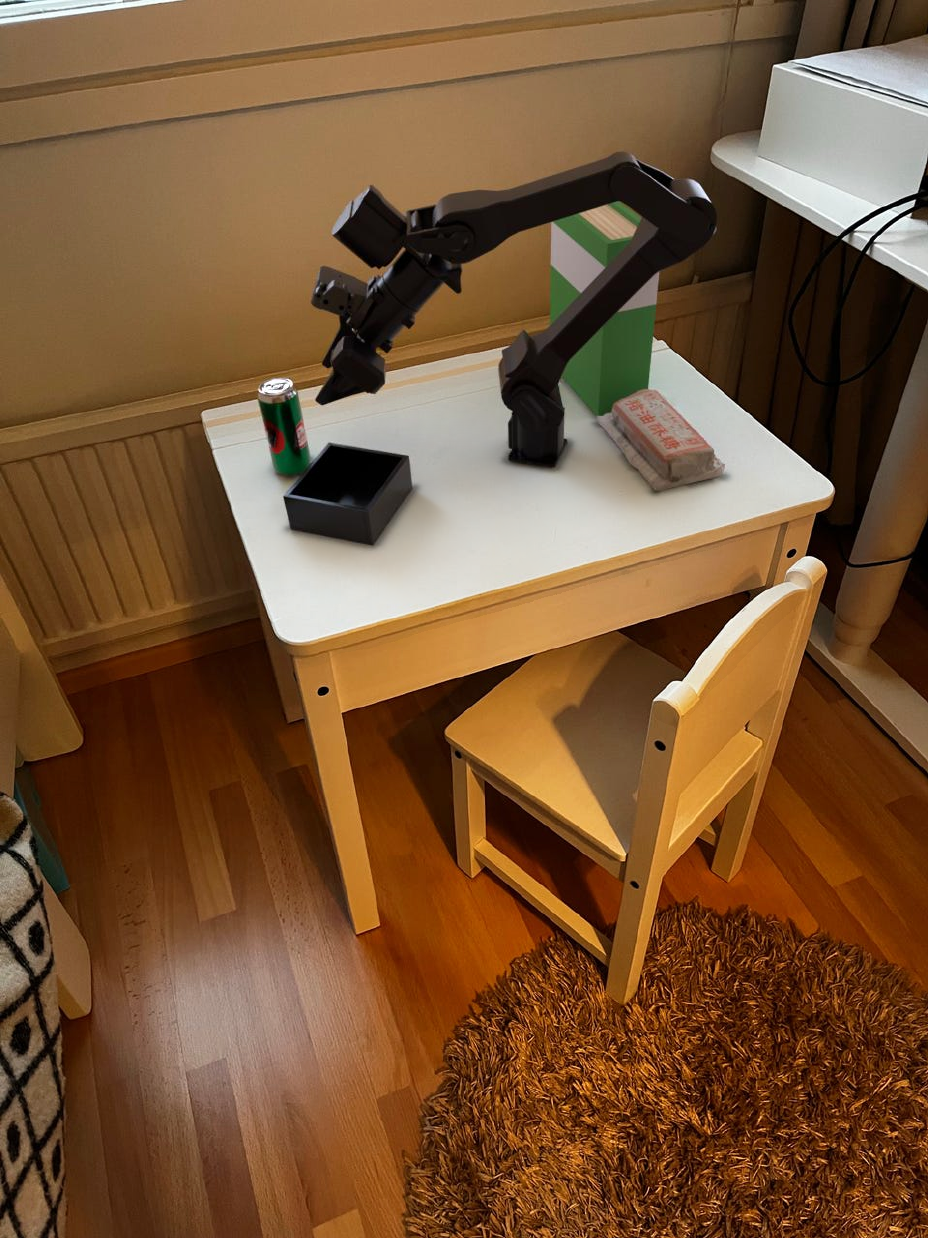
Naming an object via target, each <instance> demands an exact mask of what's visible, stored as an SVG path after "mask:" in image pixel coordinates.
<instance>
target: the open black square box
mask: <svg viewBox="0 0 928 1238" xmlns="http://www.w3.org/2000/svg"><path fill="white" fill-rule="evenodd" d="M412 490H413V480H412V471H411V461H410V455H407V454H401V453H396V452H395V453H394V452H390V451H383V450H378V449H377V450H376V449H370V448H364V447H360V446H353V445H348V444H347V445H346V444H341V443H334V442H327V444H326V445H325V446H324V447H323V448H322V450H321V451H320V452H319V453H318V454H317V456H316V457H315V458H314V459H313V460H312V461H311V464H310V465H309V466H308V467H307V469H306V470H305V471H304V472H303V473H301V474H300V476H299V477H298V478H297V479H296V480H295V481H294V482H293V484H292V485H291V486H290V487H289V488H288V490H287V491H286V492H285V493H284V494H283V496H282V498H283V502H284V506H285V511H286V516H287V519H288V524H289V528H290V530H291V531H297V532H302V533H306V534H312V535H317V536H322V537H327V538H331V539H337V540H341V541H346V542H347V541H348V542H352V543H356V544H362V545H368V546H372V547H374V546H375V544H376V543H377V542H378V540H379V538H381V535H382V534H383V532H384V531H385V529H386V528H387V527H388V526H389V524H390V522H391V521H392V520H393V518H394V517H395V515H396V514H397V512H398V511H399V509H400V508H401V507H402V505H403V503H404V502H405V501H406V499H407V498H408V496H409V494H410V493H411V492H412Z"/></svg>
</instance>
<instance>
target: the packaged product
mask: <svg viewBox="0 0 928 1238" xmlns="http://www.w3.org/2000/svg"><path fill="white" fill-rule="evenodd" d="M596 418H597V423H598V424H599V425H600V427H601V428H602V429H604V431H605V432H606V433H608V435H609V436H610V438H611V439H612V440H613V442H615V444H616V445H617V447H618V448H619V449H620V450H621V452H622V454H624V456H625V458H626V459H627V461H628V463H629V465H631V466H632V467H634V468H635V469H636V470H638V472H639V473H640V474H642V476H643V478H645V480H646V481H647V482H648V484H649V485H650V486H651V487H652V488H653V490H654V491H656V492H657V491H661V490H665V489H669V488H674V487H679V486H683V485H688V484H693V483H697V482H701V481H705V480H709V479H714V478H718V477H722V476H724V474H725V470H726V469H725V468H726V463H724V462H722V460H721V459H720V458H719V457H718V456H717V455H716V453H715V450H714V447H712V446H711V445H710V444H709V443H708V441H707V440H706V439H705V438H704V437H703V436H702V435H700V433H699V432H698V431H697V430H696V429H695V428H694V427H693V426H692V425H691V424H690V423H689V422H688V421H687V420H686V419H685V418H684V417H683V416H682V414H681V413H679V412H678V410H676V408H674V407H673V406H672V404H671V403H670V402H668V400H667V399H665V397H663V395H662V394H661V392H660V391H658V390H657V389H649V388H648V389H643V390H639V391H637V392H636V393H634V394H632V395H630V396H628V397H625V398H622V399H621V400H619V401H617V402H616V403H614V405H613V406H612V412H611V413H606V414H605V415H604V416H596Z"/></svg>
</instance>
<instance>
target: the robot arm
mask: <svg viewBox="0 0 928 1238" xmlns="http://www.w3.org/2000/svg"><path fill="white" fill-rule="evenodd" d="M617 201H619V202H621V203H622V204H623V205H625V206H626V207H628V208H629V209H631V210H632V211H633V212H635V213H636V214H637V215H639V216H640V217H641V220H640V222H639V224H638V227H637V229H636V231H635V233H634V235H633V237H632V239H631V241H630V242H629V243H628V244H627V246H626V247H625V248H624V249H623V250H622V251H621V252H620V253H619V254H618V255H617V256H616V257H615V258H614V259H613V260H612V261H611V262H610V263H609V264H608V265H607V266H606V268H605V269H604V270H603V271H602V272H601V273H600V274H599V275H598V276H597V277H596V278H595V279H594V280H593V281H592V282H591V283H590V284H589V285H588V286H587V287H586V288H585V290H584V291H583V292H582V293H581V294H580V295H579V296H578V297H577V298H576V299H575V300H574V301H573V302H572V303H571V304H570V305H569V306H568V307H567V308H566V309H565V310H564V312H563V313H562V314H561V315H560V316H559V317H558V318H557V319H556V320H555V321H554V322H553V323H552V324H551V325H550V324H549V326H548V327H547V328H546V329H545V330H544V331H541V332H540V333H536V334H535V335H532V336H530V335H529V334H528V332H527V331H526V330H525V329H522V330H521V331H520V332H519V333H518V335H517V337H516V338H515V339H514V341H513V342H512V343H510V344H509V346H507V347H505V348H503V349H502V350H501V357H502V358H501V359H500V360H499V363H498V365H497V366H498V368H497V370H498V371H497V372H498V382H499V389H500V397H501V401H502V403H503V405H504V406H505V408H507V409H508V410H509V411H511V417H510V418H509V420H508V421H507V443H508V444H507V445H508V449H509V450H510V452H509V454H508V455H507V460H508V461H509V462H514V463H520V464H527V465H533V466H539V467H546V468H551V469H552V468H555V467H556V466H557V465H558V462H559V460H560V459H561V457H562V455H563V453H564V451H565V449H566V447H567V445H568V439H567V438H565V414H566V413H565V412H566V411H565V409H566V408H565V407H564V404H563V399H562V395H561V391H560V386H559V382H560V381H561V379H562V374H563V372H564V370H565V368H566V366H567V364H568V362H569V361H570V359H571V358H572V357H573V356H574V355H575V354H576V353H577V352H578V351H579V350H580V349H581V348H582V347H583V346H584V345H585V344H586V343H587V342H588V341H589V340H590V339H591V338H592V337H593V336H594V335H595V334H596V333H597V332H598V331H599V330H600V329H601V328H602V327H603V326H604V325H605V324H606V323H607V322H608V321H609V320H610V319H611V318H612V317H613V316H614V315H615V314H616V313H617V312H618V311H619V310H620V309H621V308H622V307H623V306H624V305H625V304H626V303H627V302H628V301H629V300H630V299H631V298H632V297H633V296H634V295H635V294H636V293H637V292H638V291H639V290H640V289H641V288H642V287H643V286H644V285H645V284H646V283H647V282H648V281H649V280H650V279H651V278H652V277H653V276H654V275H655V274H656V273H658V272H659V273H660V272H661V271H665V270H666V269H668V268H671V267H673V266H676V265H679V264H681V263H683V262H684V261H685V260H687V259H688V258H690V257H691V256H692V255H693V254H694V253H697V252H698V251H699V250H700V249H701V248H703V247H704V246H705V245H707V243H709V242H710V241H711V239H712V238H713V237H714V235H715V234H716V231H717V224H718V213H717V209H716V207H715V206H714V204H713V203H712V201H711V200H710V198H709V197H708V195H707V194H706V192H705V190H704V189H703V188H702V186H701V185H700V184H699V182H697V181H696V180H694V179H691V178H687V177H682V178H673V176H670V175H669V174H667V173H666V172H665V171H662V170H661V169H658V168H657V167H654V166H651V165H649V164H647V163H645V162H642V161H641V160H639V158H638V159H637V158H636V157H635V156H634V155H633V154H631V153H630V152H629V151H625V150H622V151H616V152H613V153H612V154H610V155H608V156H607V157H605V158H601V159H598V160H595V161H592V162H589V163H586V164H582V165H580V166H576V167H574V168H570V169H567V170H564V171H561V172H557V173H554V174H552V175H549V176H545V177H543V178H539V179H536V180H534V181H530V182H527V183H524V184H521V185H518V186H515V187H512V188H509V189H501V190H493V189H491V190H489V189H475V190H466V191H459V192H453V193H449V194H447V195H445V196H443V197H441V198H440V199H439V200H438V201H437V203H436V204H431V205H427V206H422V207H417V208H412V209H407V210H406V211H405V212H404V213H402V212H401V211H399V209H398V208H397V207H395V206H394V205H393V204H392V203H391V202H390V201H388V200H387V199H386V198H385V197H384V195H383V194H382V192H381V191H380V190H379V189H378V188H377V187H376V186H374V185H373V184H369V185H368V187H367V188H366V189H365V190H364V191H363V192H360V194H359V195H357V196H356V197H355V199H351V200H350V201H349V203H348V204H346V206H345V208H344V209H343V210H342V211H341V214H340V215H339V217H338V218H337V220H336V221H335V223H334V225H333V227H332V228H331V229H332V230H331V232H330V235H331V237H333V238H334V239H335V240H337V241H338V242H339V243H340V244H341V245H342V246H344V247H345V248H346V249H347V250H349V252H351V253H352V254H353V255H354V256H356V257H357V258H358V259H359V260H360V261H362V262H363V263H364V264H365V265H367V266H368V267H369V268H370V269H373V268H376V269H378V270H380V269H381V268H386V267H388V266H389V265H390V266H389V267H388V268H387V269H386V270H385V271H384V273H383V274H382V275H380V274H376V276H375V275H372V277H371V278H369V280H368V281H367V282H366V281H363V280H361V279H359V278H357V277H356V276H354V275H352V274H348V273H346V272H343V271H340V270H338V269H335V268H333V267H330V266H326V265H321V266H320V267H319V271H318V273H317V277H316V279H315V283H314V286H313V290H312V295H311V299H310V304H311V305H312V307H314V308H316V309H317V310H321V311H325V312H327V313H330V314H334V315H337V316H338V319H339V326H338V329H337V331H336V332H335V334H334V337H333V339H332V341H331V343H330V345H329V347H328V349H327V351H326V353H325V355H324V357H323V359H322V361H321V365H322V366H323V367H324V368H325V369H331V368H332V370H331V371H330V373H329V375H328V377H327V378H326V380H325V382H324V383H323V385H322V387H321V388H320V390H319V392H318V393H317V395H316V397H315V399H314V400H315V403H317V404H319V406H326V405H329V404H331V403H334V402H337V401H339V400H343V399H346V398H349V397H352V396H355V395H359V394H362V393H363V394H364V393H366V394H371V395H376V394H377V393H378V391H380V389H381V388H383V386H384V385H385V384H386V376H387V375H386V374H387V366H386V359H385V358H384V357H383V356H381V355H380V354H379V353H378V352H377V349H380V350H382V351H383V352H384V353H385V354H389V352H391V350H392V349H393V345H394V340H395V338H396V337H397V336H398V335H399V334H400V333H401V332H402V331H403V330H404V328H406V329H408V330H410V329H411V328H413V326H414V325H415V323H416V315H417V314H418V313H419V312H420V311H421V310H422V308H423V307H424V306H426V304H427V303H428V302H429V300H431V298H433V296H434V295H435V294H437V292H438V291H439V290H440V288H441V287H442V286H443V285H444V284H445V285H446V286H447V287H448V288H449V289H451V290H452V291H453V292H454V293H455V294H457V295H460V294H461V293H462V292H463V291H462V289H463V287H462V273H463V265H465V264H468V263H470V262H473V261H474V260H476V259H478V258H480V257H482V256H485V255H486V254H488V253H490V252H492V251H493V250H495V249H496V248H498V247H499V246H500V245H501V244H502V243H504V242H506V240H508V239H509V238H511V237H512V236H514V235H517V234H519V233H521V232H525V231H527V230H531V229H534V228H537V227H541V226H544V225H546V224H551V222H553V221H556V220H560V219H563V218H566V217H569V216H572V215H575V214H579V213H582V212H585V211H588V210H591V209H595V208H598V207H601V206H604V205H607V204H610V203H614V202H617ZM403 248H404V249H403ZM401 250H403V251H402V252H401ZM400 252H401V253H400ZM399 253H400V254H399ZM397 256H398V257H397Z"/></svg>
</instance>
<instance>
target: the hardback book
mask: <svg viewBox="0 0 928 1238" xmlns="http://www.w3.org/2000/svg"><path fill="white" fill-rule="evenodd" d="M641 218H642V216H641V215H639V214H638V213H637V212H635V211H634V210H633V209H631V208H630V207H628V206H627V205H625V204H624V203H622V202H620V201H617V202H614V203H610V204H607V205H604V206H601V207H598V208H595V209H591V210H588V211H585V212H582V213H579V214H575V215H572V216H569V217H566V218H563V219H560V220H556V221H553V222H550V224H551V225H550V283H549V284H550V286H549V287H550V290H549V291H550V292H549V296H550V297H549V326H550V325H551V324H552V323H553V322H554V321H555V320H556V319H557V318H558V317H559V316H560V315H561V314H562V313H563V312H564V310H565V309H566V308H567V307H568V306H569V305H570V304H571V303H572V302H573V301H574V300H575V299H576V298H577V297H578V296H579V295H580V294H581V293H582V292H583V291H584V290H585V288H586V287H587V286H588V285H589V284H590V283H591V282H592V281H593V280H594V279H595V278H596V277H597V276H598V275H599V274H600V273H601V272H602V271H603V270H604V269H605V268H606V266H607V265H608V264H609V263H610V262H611V261H612V260H613V259H614V258H615V257H616V256H617V255H618V254H619V253H620V252H621V251H622V250H623V249H624V248H625V247H626V246H627V244H628V243H629V242H630V241H631V239H632V237H633V235H634V233H635V231H636V229H637V227H638V224H639V222H640V220H641ZM659 279H660V271H659V272H658V273H656V274H655V275H654V276H653V277H652V278H651V279H650V280H649V281H648V282H647V283H646V284H645V285H644V286H643V287H642V288H641V289H640V290H639V291H638V292H637V293H636V294H635V295H634V296H633V297H632V298H631V299H630V300H629V301H628V302H627V303H626V304H625V305H624V306H623V307H622V308H621V309H620V310H619V311H618V312H617V313H616V314H615V315H614V316H613V317H612V318H611V319H610V320H609V321H608V322H607V323H606V324H605V325H604V326H603V327H602V328H601V329H600V330H599V331H598V332H597V333H596V334H595V335H594V336H593V337H592V338H591V339H590V340H589V341H588V342H587V343H586V344H585V345H584V346H583V347H582V348H581V349H580V350H579V351H578V352H577V353H576V354H575V355H574V356H573V357H572V358H571V359H570V361H569V362H568V364H567V366H566V368H565V370H564V372H563V374H562V376H561V378H563V379H564V381H565V382H566V384H568V385H569V386H570V388H571V389H572V391H574V393H576V394H577V396H578V397H579V399H581V401H582V402H583V403H584V404H585V405H586V406H587V408H589V410H590V411H591V412H592V413H593V414H594V415H595V416H596V417H597V416H604V415H605V414H606V413H611V412H612V406H613V405H614V403H616V402H617V401H619V400H621V399H622V398H625V397H628V396H630V395H632V394H634V393H636V392H637V391H639V390H643V389H649V384H650V374H651V363H652V352H653V344H654V343H653V341H654V332H655V323H656V312H657V299H658V290H659Z"/></svg>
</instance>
